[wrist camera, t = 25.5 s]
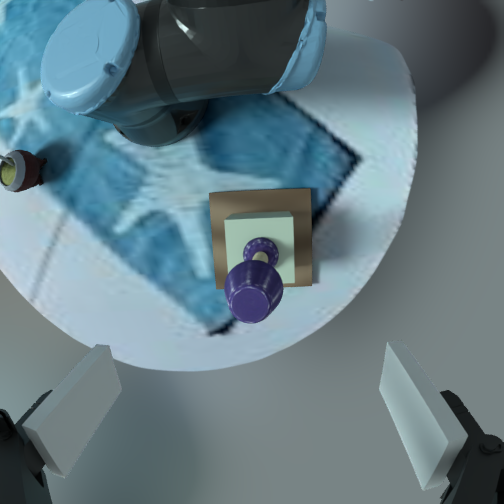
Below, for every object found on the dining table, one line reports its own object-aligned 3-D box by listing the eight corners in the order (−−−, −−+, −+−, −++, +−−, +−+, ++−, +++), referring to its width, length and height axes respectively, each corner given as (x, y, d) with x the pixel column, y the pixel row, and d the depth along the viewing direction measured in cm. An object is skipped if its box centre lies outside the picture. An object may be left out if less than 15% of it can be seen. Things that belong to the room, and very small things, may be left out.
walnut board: (210, 192, 44) (209, 193, 43) (309, 188, 43) (310, 188, 42) (217, 286, 47) (216, 289, 46) (311, 283, 46) (312, 286, 45)
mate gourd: (32, 197, 46) (-27, 207, 31) (18, 162, 44) (-40, 164, 30) (56, 173, 45) (-5, 176, 30) (42, 137, 43) (-18, 132, 29)
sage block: (231, 213, 44) (224, 220, 37) (289, 211, 43) (293, 217, 36) (235, 269, 45) (229, 285, 39) (291, 267, 45) (294, 282, 38)
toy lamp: (232, 258, 38) (205, 317, 22) (251, 225, 37) (237, 261, 21) (267, 277, 38) (265, 348, 22) (287, 245, 37) (300, 296, 21)
